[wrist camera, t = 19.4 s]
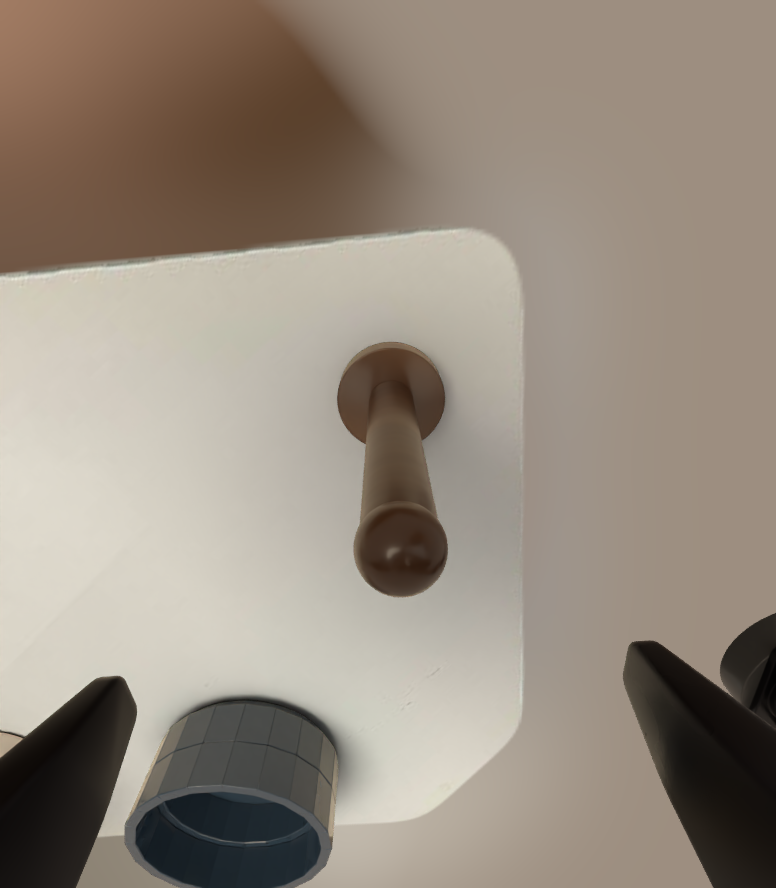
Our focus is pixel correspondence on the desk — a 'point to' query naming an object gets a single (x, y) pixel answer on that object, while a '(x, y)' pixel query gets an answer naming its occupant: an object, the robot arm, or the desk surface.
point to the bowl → (237, 800)
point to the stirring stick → (395, 466)
